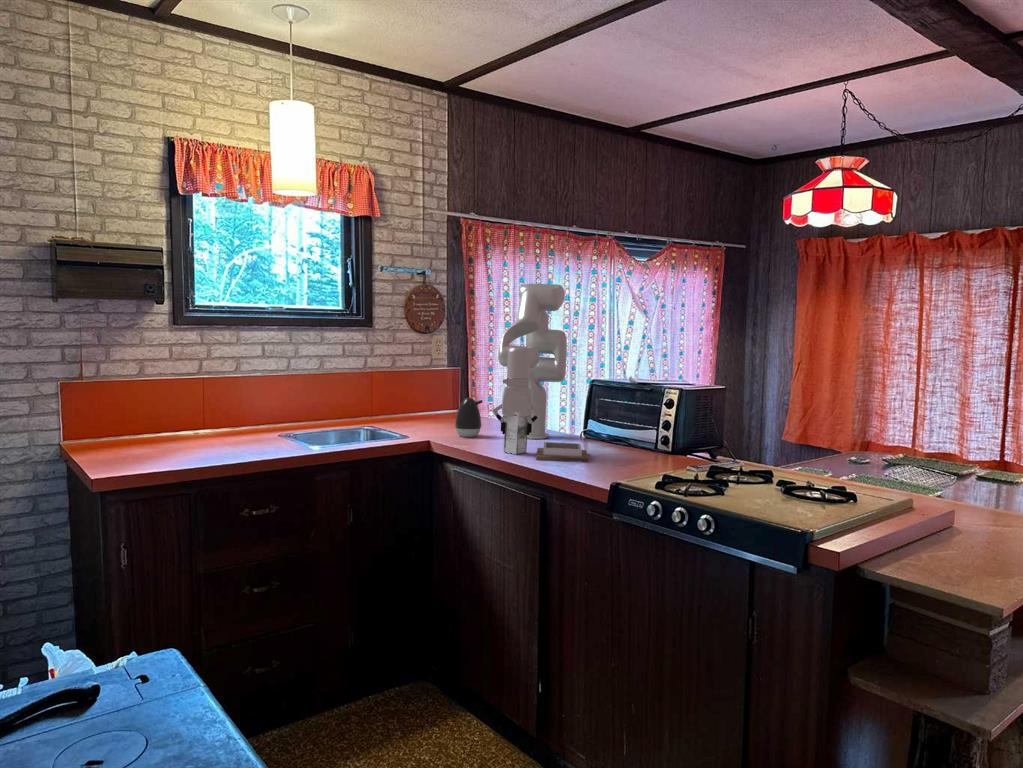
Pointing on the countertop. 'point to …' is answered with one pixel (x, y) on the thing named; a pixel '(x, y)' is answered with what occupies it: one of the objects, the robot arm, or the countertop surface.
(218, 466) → the countertop surface
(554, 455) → the tray
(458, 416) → the pump dispenser
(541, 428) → the robot arm
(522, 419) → the syrup box
